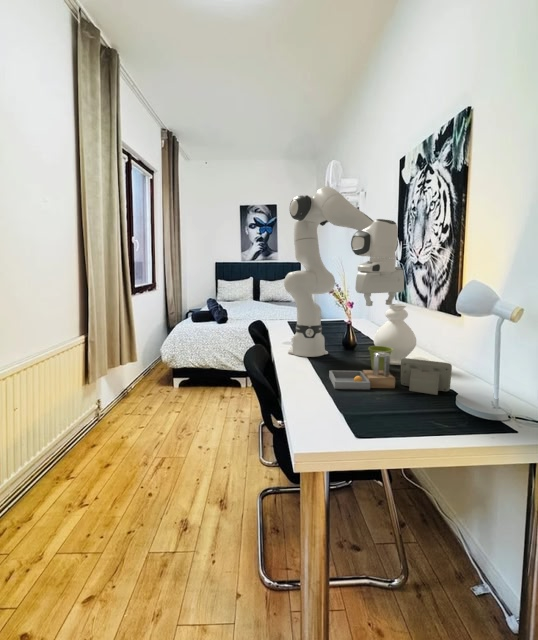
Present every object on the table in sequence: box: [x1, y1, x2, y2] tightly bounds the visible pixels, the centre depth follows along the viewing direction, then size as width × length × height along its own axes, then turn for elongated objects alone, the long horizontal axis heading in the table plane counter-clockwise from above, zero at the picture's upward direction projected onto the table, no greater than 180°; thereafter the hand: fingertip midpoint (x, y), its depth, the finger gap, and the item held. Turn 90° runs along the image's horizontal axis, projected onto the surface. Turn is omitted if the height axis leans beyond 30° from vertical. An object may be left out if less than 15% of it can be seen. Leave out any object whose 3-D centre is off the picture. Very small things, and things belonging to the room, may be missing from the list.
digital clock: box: [400, 357, 453, 396], centre depth 130 cm, size 16×9×11 cm, turn 52°
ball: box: [354, 376, 363, 382], centre depth 135 cm, size 3×3×3 cm
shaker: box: [372, 352, 391, 377], centre depth 135 cm, size 6×6×8 cm
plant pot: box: [367, 345, 393, 370], centre depth 155 cm, size 9×9×9 cm
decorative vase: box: [373, 303, 417, 366], centre depth 167 cm, size 18×18×25 cm
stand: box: [362, 369, 396, 389], centre depth 137 cm, size 10×9×4 cm
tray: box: [328, 370, 371, 391], centre depth 137 cm, size 14×12×2 cm
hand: (379, 305), depth 137 cm, fingers open, 8 cm apart
